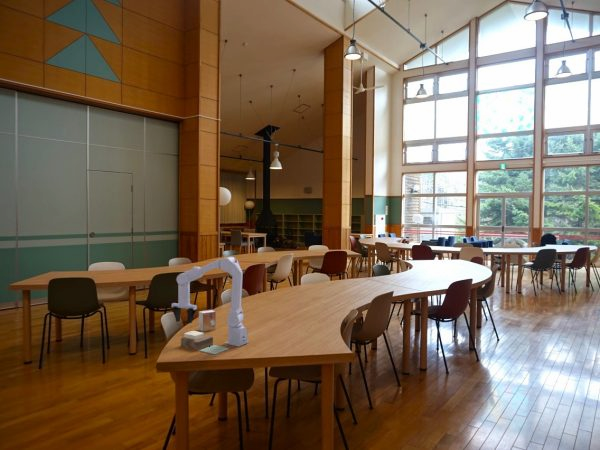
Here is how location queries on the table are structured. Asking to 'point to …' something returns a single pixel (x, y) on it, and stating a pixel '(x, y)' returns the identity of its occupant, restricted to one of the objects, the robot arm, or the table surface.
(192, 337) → the white rectangular block
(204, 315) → the small box
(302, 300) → the table surface
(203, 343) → the deck
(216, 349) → the mat
